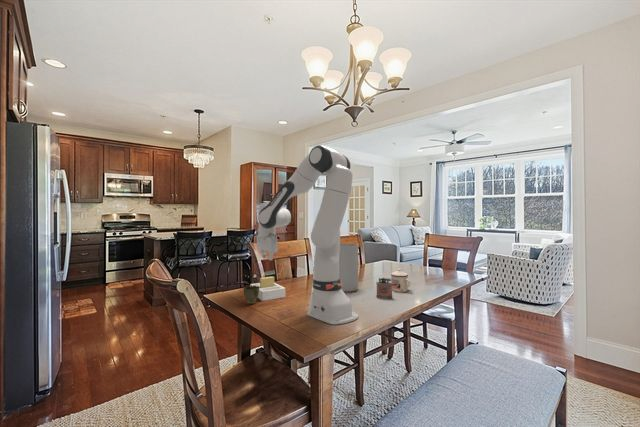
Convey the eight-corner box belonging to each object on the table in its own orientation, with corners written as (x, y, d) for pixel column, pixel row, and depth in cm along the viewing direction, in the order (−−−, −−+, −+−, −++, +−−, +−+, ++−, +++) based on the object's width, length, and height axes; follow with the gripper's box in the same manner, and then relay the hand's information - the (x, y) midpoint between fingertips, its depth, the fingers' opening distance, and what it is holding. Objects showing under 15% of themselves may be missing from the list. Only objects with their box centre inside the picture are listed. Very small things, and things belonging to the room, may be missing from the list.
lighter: (375, 297, 146) (375, 277, 146) (377, 295, 149) (377, 276, 149) (392, 299, 143) (392, 279, 143) (392, 297, 146) (392, 277, 146)
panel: (274, 292, 152) (274, 277, 152) (261, 294, 149) (261, 278, 149) (272, 291, 155) (272, 276, 154) (260, 293, 151) (260, 278, 151)
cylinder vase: (346, 285, 171) (346, 243, 171) (362, 289, 162) (362, 244, 162) (331, 288, 163) (331, 244, 163) (347, 293, 154) (347, 246, 153)
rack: (285, 297, 148) (285, 288, 147) (261, 301, 141) (261, 292, 141) (271, 289, 163) (271, 281, 162) (249, 292, 156) (249, 284, 156)
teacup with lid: (387, 289, 161) (387, 268, 161) (398, 287, 166) (398, 266, 166) (404, 294, 151) (404, 272, 151) (415, 292, 156) (415, 270, 156)
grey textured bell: (255, 306, 133) (255, 289, 133) (240, 305, 134) (240, 288, 134) (261, 301, 140) (261, 285, 140) (247, 300, 142) (247, 284, 142)
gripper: (280, 233, 144) (281, 261, 144) (265, 231, 162) (265, 256, 162) (269, 234, 141) (269, 262, 141) (254, 231, 158) (254, 257, 158)
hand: (267, 258), depth 152 cm, fingers open, 8 cm apart
